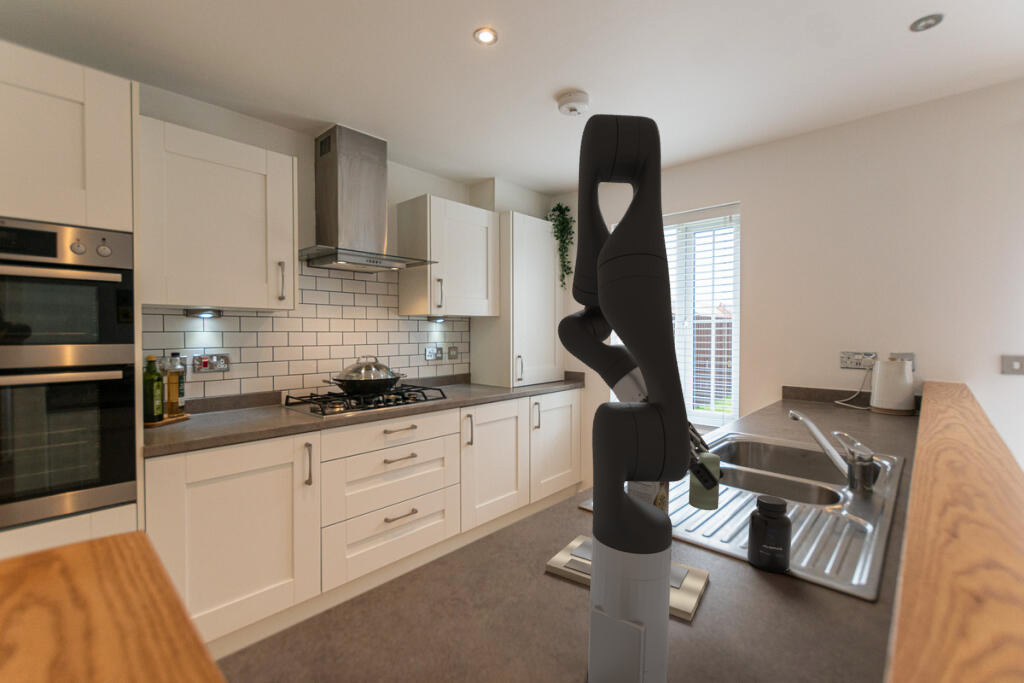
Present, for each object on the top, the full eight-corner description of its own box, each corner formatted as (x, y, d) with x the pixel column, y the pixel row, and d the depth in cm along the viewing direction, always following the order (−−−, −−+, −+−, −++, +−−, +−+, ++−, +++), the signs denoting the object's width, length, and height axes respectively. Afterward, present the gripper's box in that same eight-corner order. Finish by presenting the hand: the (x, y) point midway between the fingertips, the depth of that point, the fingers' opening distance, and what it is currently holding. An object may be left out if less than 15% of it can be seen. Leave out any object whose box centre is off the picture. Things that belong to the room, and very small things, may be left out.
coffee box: (642, 511, 108) (644, 442, 108) (669, 518, 104) (671, 447, 104) (624, 523, 101) (627, 449, 101) (653, 531, 97) (655, 455, 97)
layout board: (690, 621, 67) (691, 611, 67) (545, 570, 80) (545, 562, 80) (708, 578, 79) (709, 570, 79) (579, 540, 92) (579, 533, 92)
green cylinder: (715, 512, 72) (717, 461, 71) (685, 505, 74) (687, 456, 74) (720, 503, 75) (722, 455, 75) (692, 497, 78) (693, 450, 78)
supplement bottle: (767, 576, 80) (770, 507, 80) (738, 557, 87) (741, 494, 87) (799, 571, 82) (802, 504, 82) (768, 553, 89) (771, 491, 89)
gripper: (647, 388, 72) (728, 481, 66) (672, 380, 84) (743, 459, 78) (614, 417, 76) (688, 509, 69) (642, 406, 87) (708, 483, 81)
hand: (716, 482), depth 74 cm, fingers closed on green cylinder, 4 cm apart
